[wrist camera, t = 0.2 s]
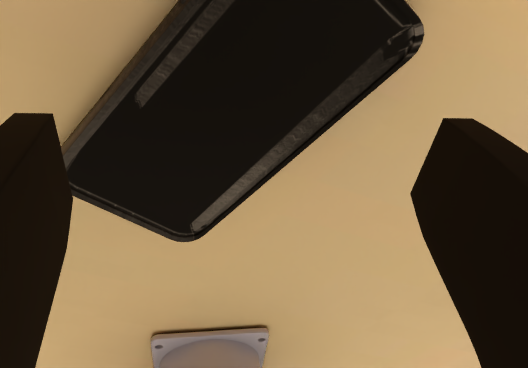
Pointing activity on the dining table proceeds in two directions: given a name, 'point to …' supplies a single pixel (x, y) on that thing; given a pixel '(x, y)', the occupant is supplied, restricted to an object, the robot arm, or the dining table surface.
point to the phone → (229, 103)
